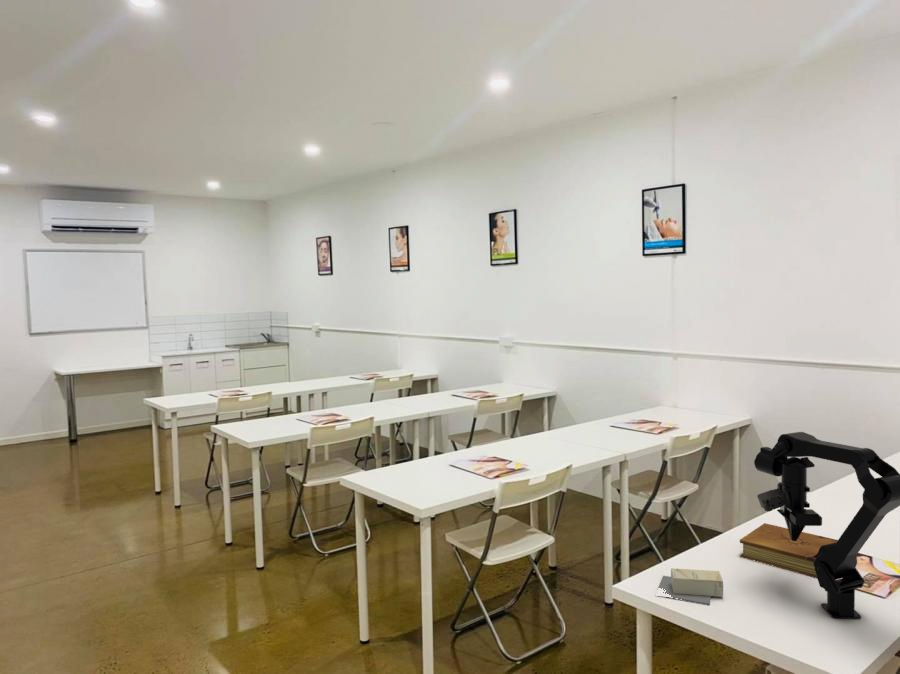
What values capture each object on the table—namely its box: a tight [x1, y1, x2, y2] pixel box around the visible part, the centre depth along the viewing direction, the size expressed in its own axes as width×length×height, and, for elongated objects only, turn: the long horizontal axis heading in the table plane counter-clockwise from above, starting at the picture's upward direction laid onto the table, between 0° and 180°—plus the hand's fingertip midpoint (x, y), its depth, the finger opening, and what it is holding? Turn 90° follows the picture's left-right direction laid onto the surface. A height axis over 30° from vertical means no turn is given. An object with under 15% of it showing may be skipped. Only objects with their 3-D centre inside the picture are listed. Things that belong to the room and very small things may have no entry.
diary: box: [739, 522, 838, 578], centre depth 189 cm, size 23×19×6 cm
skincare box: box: [670, 568, 724, 598], centre depth 171 cm, size 6×4×12 cm
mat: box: [657, 575, 712, 606], centre depth 172 cm, size 13×12×1 cm
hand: (793, 540), depth 169 cm, fingers closed
